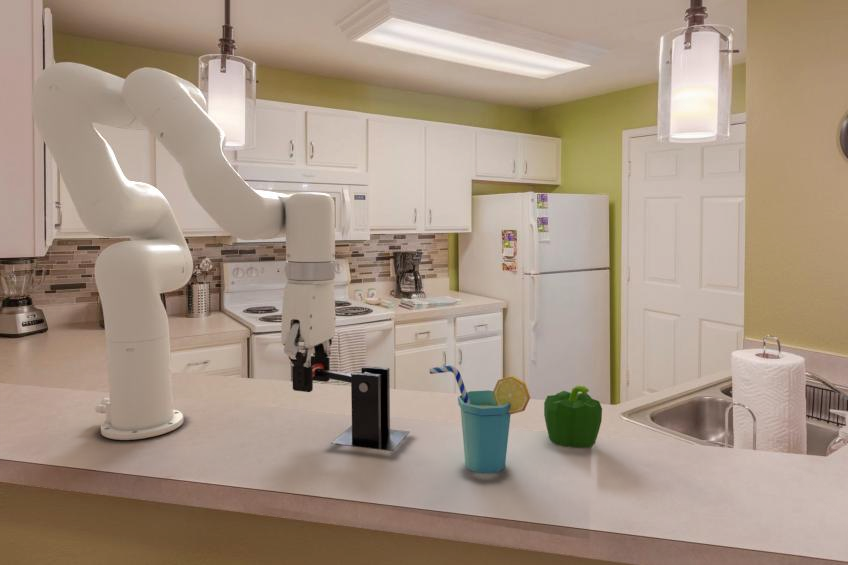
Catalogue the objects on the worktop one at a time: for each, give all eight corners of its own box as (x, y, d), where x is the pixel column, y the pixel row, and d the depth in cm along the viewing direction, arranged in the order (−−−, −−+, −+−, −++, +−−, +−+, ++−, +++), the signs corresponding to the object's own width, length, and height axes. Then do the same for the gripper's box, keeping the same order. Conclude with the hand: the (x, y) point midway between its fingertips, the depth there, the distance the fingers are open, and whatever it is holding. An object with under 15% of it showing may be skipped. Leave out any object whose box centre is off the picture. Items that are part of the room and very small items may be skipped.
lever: (300, 381, 89) (301, 367, 89) (315, 373, 94) (316, 359, 94) (372, 396, 86) (373, 380, 86) (384, 386, 91) (385, 372, 90)
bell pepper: (535, 438, 92) (536, 377, 91) (582, 434, 94) (584, 374, 93) (558, 459, 84) (560, 393, 83) (609, 455, 85) (611, 389, 84)
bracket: (331, 450, 87) (329, 375, 86) (352, 432, 95) (351, 362, 94) (392, 458, 84) (392, 380, 83) (409, 438, 92) (409, 366, 91)
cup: (423, 479, 78) (422, 371, 76) (435, 456, 85) (435, 357, 83) (527, 490, 74) (529, 377, 73) (530, 465, 82) (532, 363, 80)
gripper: (314, 267, 99) (315, 370, 101) (259, 276, 82) (261, 399, 85) (354, 269, 97) (354, 374, 99) (306, 279, 80) (307, 404, 82)
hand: (311, 384), depth 92 cm, fingers closed on lever, 5 cm apart
